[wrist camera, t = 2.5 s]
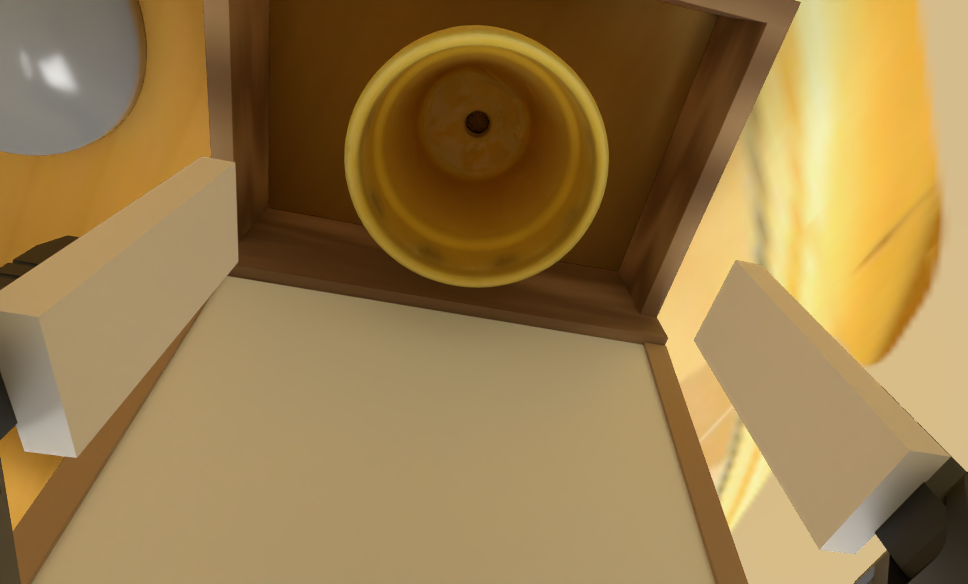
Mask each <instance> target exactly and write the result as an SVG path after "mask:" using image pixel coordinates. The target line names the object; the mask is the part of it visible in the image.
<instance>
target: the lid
mask: <svg viewBox="0 0 968 584" xmlns="http://www.w3.org/2000/svg"><path fill="white" fill-rule="evenodd" d="M13 537H14V544H15V550H16V556H17V562H18V568H19V574H20V580H21V584H748V582H747V579H746V576H745V573H744V570H743V567H742V565H741V562H740V559H739V556H738V553H737V550H736V547H735V544H734V541H733V539H732V535H731V533H730V530H729V527H728V524H727V521H726V518H725V515H724V512H723V509H722V507H721V504H720V501H719V498H718V495H717V492H716V489H715V486H714V483H713V481H712V478H711V475H710V472H709V469H708V466H707V463H706V460H705V457H704V455H703V452H702V449H701V446H700V443H699V440H698V437H697V434H696V431H695V428H694V426H693V423H692V420H691V417H690V414H689V411H688V408H687V405H686V402H685V400H684V397H683V394H682V391H681V388H680V385H679V382H678V379H677V376H676V374H675V371H674V368H673V365H672V362H671V359H670V356H669V353H668V350H667V347H666V346H664V345H658V344H652V343H646V342H645V343H644V345H641V344H635V343H629V342H623V341H617V340H611V339H605V338H599V337H593V336H587V335H581V334H575V333H569V332H563V331H557V330H551V329H545V328H539V327H533V326H527V325H521V324H515V323H509V322H503V321H496V320H490V319H484V318H478V317H472V316H466V315H460V314H454V313H448V312H442V311H436V310H430V309H424V308H418V307H412V306H406V305H400V304H394V303H388V302H382V301H376V300H370V299H364V298H358V297H352V296H345V295H339V294H333V293H327V292H321V291H315V290H309V289H303V288H297V287H291V286H285V285H279V284H273V283H267V282H261V281H255V280H249V279H243V278H237V277H231V276H226V277H225V279H224V280H223V281H222V282H221V283H220V285H219V286H218V287H217V288H216V290H215V291H214V292H213V293H212V294H211V296H210V297H209V298H208V299H207V301H206V302H205V303H204V304H203V305H202V307H201V308H200V309H199V310H198V311H197V313H196V314H195V315H194V316H193V318H192V319H191V320H190V321H189V322H188V324H187V325H186V326H185V327H184V328H183V330H182V331H181V332H180V333H179V335H178V336H177V337H176V338H175V339H174V341H173V342H172V343H171V344H170V345H169V347H168V348H167V349H166V350H165V352H164V353H163V354H162V355H161V356H160V358H159V359H158V360H157V361H156V362H155V364H154V365H153V366H152V367H151V369H150V370H149V371H148V372H147V373H146V375H145V376H144V377H143V378H142V379H141V381H140V382H139V383H138V384H137V386H136V387H135V388H134V389H133V390H132V392H131V393H130V394H129V395H128V397H127V398H126V399H125V400H124V401H123V403H122V404H121V405H120V406H119V407H118V409H117V410H116V411H115V412H114V414H113V415H112V416H111V417H110V418H109V420H108V421H107V422H106V423H105V424H104V426H103V427H102V428H101V429H100V431H99V432H98V433H97V434H96V435H95V437H94V438H93V439H92V440H91V441H90V443H89V444H88V445H87V446H86V448H85V449H84V450H83V451H82V452H81V454H80V455H79V456H78V457H77V458H73V457H65V458H64V459H63V461H62V462H61V463H60V465H59V466H58V468H57V469H56V471H55V472H54V473H53V475H52V476H51V478H50V479H49V481H48V482H47V484H46V485H45V486H44V488H43V489H42V491H41V492H40V494H39V495H38V496H37V498H36V499H35V501H34V502H33V504H32V505H31V506H30V508H29V509H28V511H27V512H26V514H25V515H24V516H23V518H22V519H21V521H20V522H19V524H18V525H17V526H16V528H15V529H14V531H13Z"/></svg>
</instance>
